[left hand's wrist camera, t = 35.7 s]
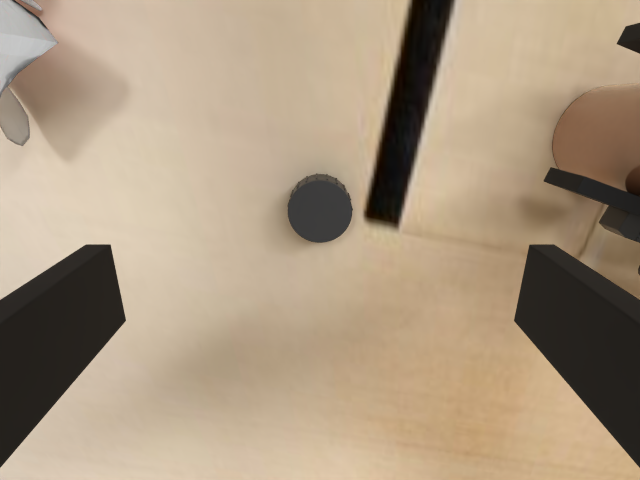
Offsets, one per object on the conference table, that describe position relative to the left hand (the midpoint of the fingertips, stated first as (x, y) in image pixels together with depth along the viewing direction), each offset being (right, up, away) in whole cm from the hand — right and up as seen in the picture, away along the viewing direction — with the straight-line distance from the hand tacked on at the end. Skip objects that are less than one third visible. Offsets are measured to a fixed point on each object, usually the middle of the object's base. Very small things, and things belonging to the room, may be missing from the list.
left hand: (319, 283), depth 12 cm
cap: (0, +3, +11) cm, 12 cm away
